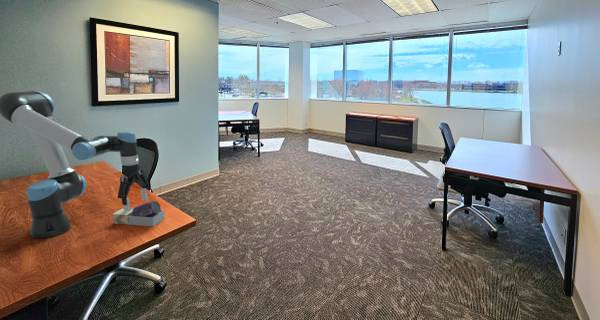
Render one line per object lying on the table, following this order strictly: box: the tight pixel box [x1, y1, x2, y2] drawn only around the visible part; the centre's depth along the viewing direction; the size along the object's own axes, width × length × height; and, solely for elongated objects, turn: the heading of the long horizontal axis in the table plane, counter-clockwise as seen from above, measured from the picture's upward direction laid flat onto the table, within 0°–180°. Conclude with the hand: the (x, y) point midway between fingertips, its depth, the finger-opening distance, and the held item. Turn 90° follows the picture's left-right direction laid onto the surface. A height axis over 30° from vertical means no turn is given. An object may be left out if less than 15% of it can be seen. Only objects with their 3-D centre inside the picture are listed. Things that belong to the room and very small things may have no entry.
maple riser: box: [112, 206, 135, 225], centre depth 163 cm, size 8×9×5 cm
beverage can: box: [132, 200, 162, 217], centre depth 160 cm, size 7×7×12 cm
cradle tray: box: [128, 209, 166, 227], centre depth 162 cm, size 13×10×4 cm
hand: (136, 205), depth 161 cm, fingers open, 13 cm apart
